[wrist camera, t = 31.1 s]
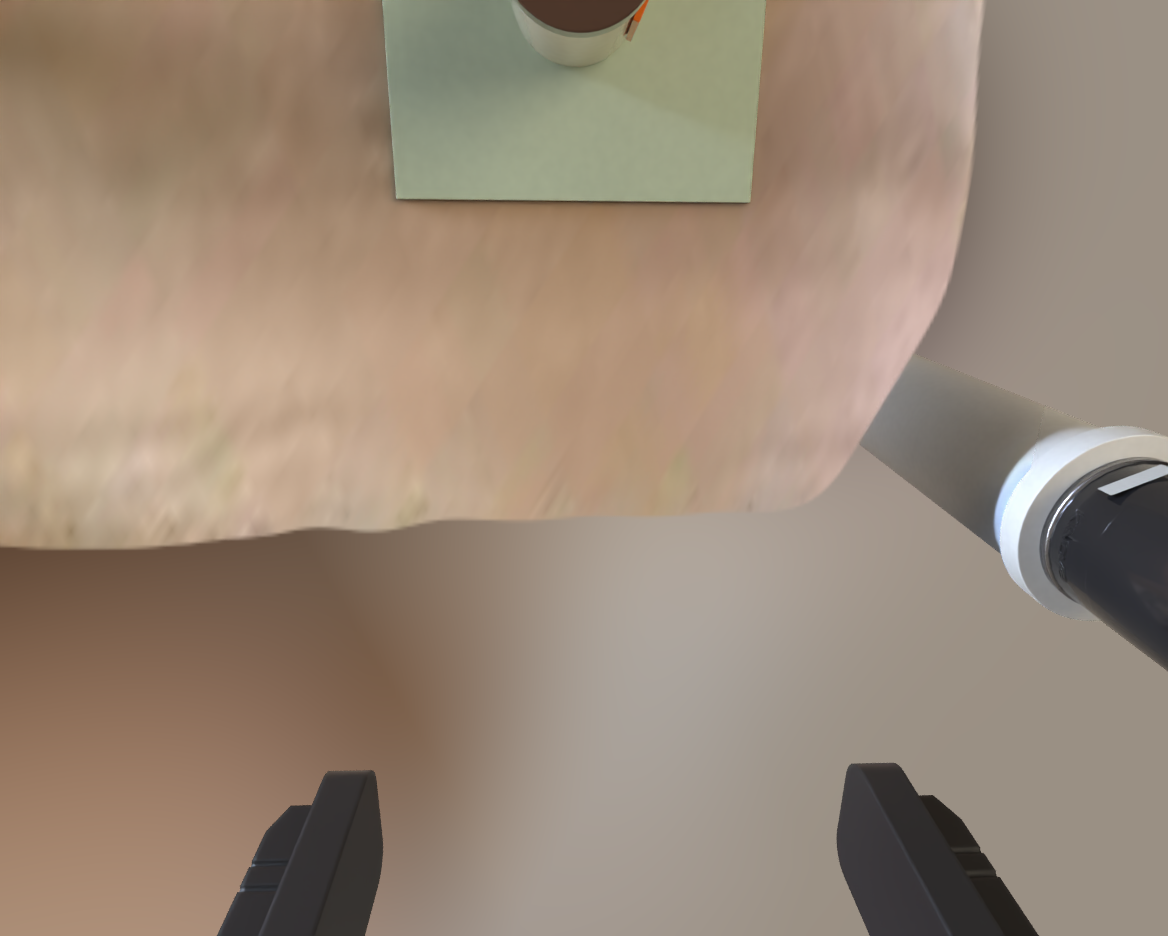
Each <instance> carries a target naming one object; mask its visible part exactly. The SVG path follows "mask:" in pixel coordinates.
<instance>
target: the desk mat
mask: <svg viewBox="0 0 1168 936" xmlns="http://www.w3.org/2000/svg"><path fill="white" fill-rule="evenodd" d="M382 4H383V18H384V32H385V46H386V60H387V74H388V88H389V102H390V116H391V130H392V144H393V158H394V172H395V186H396V199H434V200H532V201H629V202H727V203H750V198H751V185H752V173H753V160H754V148H755V135H756V122H757V110H758V97H759V85H760V72H761V59H762V47H763V34H764V22H765V9H766V0H649V1H648V4H647V6H646V8H645V11H644V13H643V15H642V18H641V20H640V23H639V25H638V27H637V29H636V32H635V34H634V36H633V39H632V41H631V42H630V41H628V40H626V39H625V41H624V42H623V44H622V45H621V46H620V47H619V48H618V49H617V50H616V51H615V52H614V53H613V54H612V55H610V56H609V57H607V58H606V59H604V60H602V61H600V62H598V63H595V64H592V65H589V66H583V67H569V66H563V65H560V64H556V63H554V62H552V61H550V60H548V59H546V58H545V57H543V56H542V55H540V54H539V53H538V52H537V51H535V50H534V48H533V47H532V46H531V45H530V44H529V43H528V42H527V40H526V39H525V38H524V36H523V34H522V32H521V31H520V29H519V27H518V24H517V22H516V19H515V16H514V12H513V8H512V4H511V0H382Z"/></svg>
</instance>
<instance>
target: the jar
mask: <svg viewBox="0 0 1168 936" xmlns="http://www.w3.org/2000/svg"><path fill="white" fill-rule="evenodd" d="M648 1H649V0H511V4H512V8H513V12H514V16H515V19H516V22H517V24H518V27H519V29H520V31H521V32H522V34H523V36H524V38H525V39H526V40H527V42H528V43H529V44H530V45H531V46H532V47H533V48H534V50H535V51H537V52H538V53H539V54H540V55H542V56H543V57H545V58H546V59H548V60H550V61H552V62H554V63H556V64H560V65H563V66H569V67H583V66H589V65H592V64H595V63H598V62H600V61H602V60H604V59H606V58H607V57H609V56H610V55H612V54H613V53H614V52H615V51H616V50H617V49H618V48H619V47H620V46H621V45H622V44H623V42H624V41H625V39H626V40H628V41H630V42H631V41H632V39H633V36H634V34H635V32H636V29H637V27H638V25H639V23H640V20H641V18H642V15H643V13H644V11H645V8H646V6H647V4H648Z"/></svg>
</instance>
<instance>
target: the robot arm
mask: <svg viewBox="0 0 1168 936" xmlns="http://www.w3.org/2000/svg"><path fill="white" fill-rule="evenodd" d="M1039 553H1040V561H1041V565H1042V568H1043V570H1044V573H1045V575H1046V577H1047V578H1048V580H1049V581H1050V582H1051V584H1052V585H1053V586H1054V587H1055V588H1056V589H1057V590H1059V591H1060V592H1061V593H1062V594H1064V595H1065V596H1066V597H1068V598H1069V599H1071V600H1072V601H1074V602H1076V603H1078V604H1080V605H1081V606H1083V607H1084V608H1085V609H1087V610H1088V611H1089V612H1091V613H1092V614H1093V615H1095V616H1096V617H1097V618H1098V619H1100V620H1101V621H1102V622H1103V623H1105V624H1106V625H1107V626H1109V627H1110V628H1111V629H1112V630H1114V631H1115V632H1117V633H1118V634H1119V635H1120V636H1122V637H1123V638H1124V639H1126V640H1127V641H1128V642H1130V643H1131V644H1133V645H1134V646H1135V647H1136V648H1138V649H1139V650H1140V651H1142V652H1143V653H1144V654H1146V655H1147V656H1148V657H1150V658H1151V659H1152V660H1154V661H1155V662H1156V663H1158V664H1159V665H1160V666H1162V667H1163V668H1164V669H1166V670H1167V671H1168V462H1166V461H1164V460H1160V459H1156V458H1150V457H1131V458H1124V459H1120V460H1116V461H1113V462H1109V463H1107V464H1104V465H1102V466H1100V467H1098V468H1096V469H1094V470H1092V471H1090V472H1088V473H1087V474H1085V475H1084V476H1082V477H1081V478H1080V479H1078V480H1077V481H1076V482H1074V483H1073V484H1072V485H1071V486H1070V487H1069V488H1068V489H1067V490H1066V491H1065V492H1064V493H1063V494H1062V495H1061V496H1060V498H1059V499H1058V500H1057V502H1056V503H1055V504H1054V506H1053V507H1052V509H1051V511H1050V512H1049V514H1048V516H1047V518H1046V521H1045V523H1044V526H1043V529H1042V532H1041V537H1040V546H1039ZM837 850H838V856H839V862H840V866H841V869H842V872H843V874H844V877H845V879H846V881H847V884H848V886H849V889H850V891H851V893H852V896H853V898H854V900H855V903H856V905H857V907H858V910H859V912H860V914H861V916H862V919H863V921H864V923H865V926H866V928H867V930H868V933H869V935H870V936H1039V935H1038V934H1037V932H1036V931H1035V930H1034V928H1033V926H1032V925H1031V923H1030V922H1029V920H1028V919H1027V917H1026V916H1025V915H1024V913H1023V911H1022V910H1021V908H1020V907H1019V905H1018V904H1017V902H1016V901H1015V899H1014V898H1013V897H1012V895H1011V894H1010V892H1009V890H1008V889H1007V887H1006V886H1005V884H1004V883H1003V881H1002V880H1001V878H1000V877H997V876H996V871H995V869H994V868H993V866H992V865H991V863H990V862H989V860H988V859H987V857H986V856H985V854H984V853H981V851H980V847H979V845H978V844H977V842H976V841H975V839H974V838H973V836H972V835H971V833H970V832H969V830H968V829H967V827H966V826H965V824H964V823H963V821H962V820H961V819H960V818H959V817H958V816H957V815H956V814H954V813H953V812H952V811H951V810H950V809H948V808H947V807H946V806H945V805H944V804H943V803H942V802H940V801H939V800H938V799H937V798H935V797H934V796H933V795H923V796H919V795H918V794H917V792H916V791H915V789H914V787H913V786H912V784H911V783H910V781H909V779H908V778H907V776H906V774H905V773H904V771H903V770H902V768H901V767H900V766H899V765H897V764H896V763H866V764H851V765H850V766H849V767H848V769H847V773H846V778H845V784H844V791H843V797H842V803H841V810H840V816H839V823H838V828H837ZM382 856H383V838H382V829H381V819H380V810H379V800H378V791H377V781H376V776H375V773H374V771H372V770H366V771H328V772H327V773H326V774H325V776H324V778H323V780H322V782H321V784H320V787H319V790H318V792H317V794H316V797H315V799H314V801H313V804H312V805H303V806H290V807H289V808H288V809H287V810H286V811H285V812H284V813H283V814H282V816H281V817H279V819H278V820H277V821H276V822H275V823H274V824H273V825H272V826H271V827H270V828H269V829H268V830H267V831H266V833H265V835H264V837H263V839H262V841H261V843H260V845H259V848H258V850H257V852H256V854H255V856H254V858H253V860H252V866H251V867H249V869H248V871H247V873H246V875H245V877H244V879H243V881H242V884H241V886H240V892H237V894H236V896H235V898H234V901H233V903H232V905H231V907H230V909H229V911H228V913H227V916H226V918H225V920H224V922H223V924H222V926H221V928H220V930H219V933H218V935H217V936H365V933H366V929H367V925H368V922H369V918H370V914H371V910H372V906H373V903H374V899H375V895H376V891H377V888H378V884H379V879H380V874H381V867H382Z"/></svg>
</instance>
